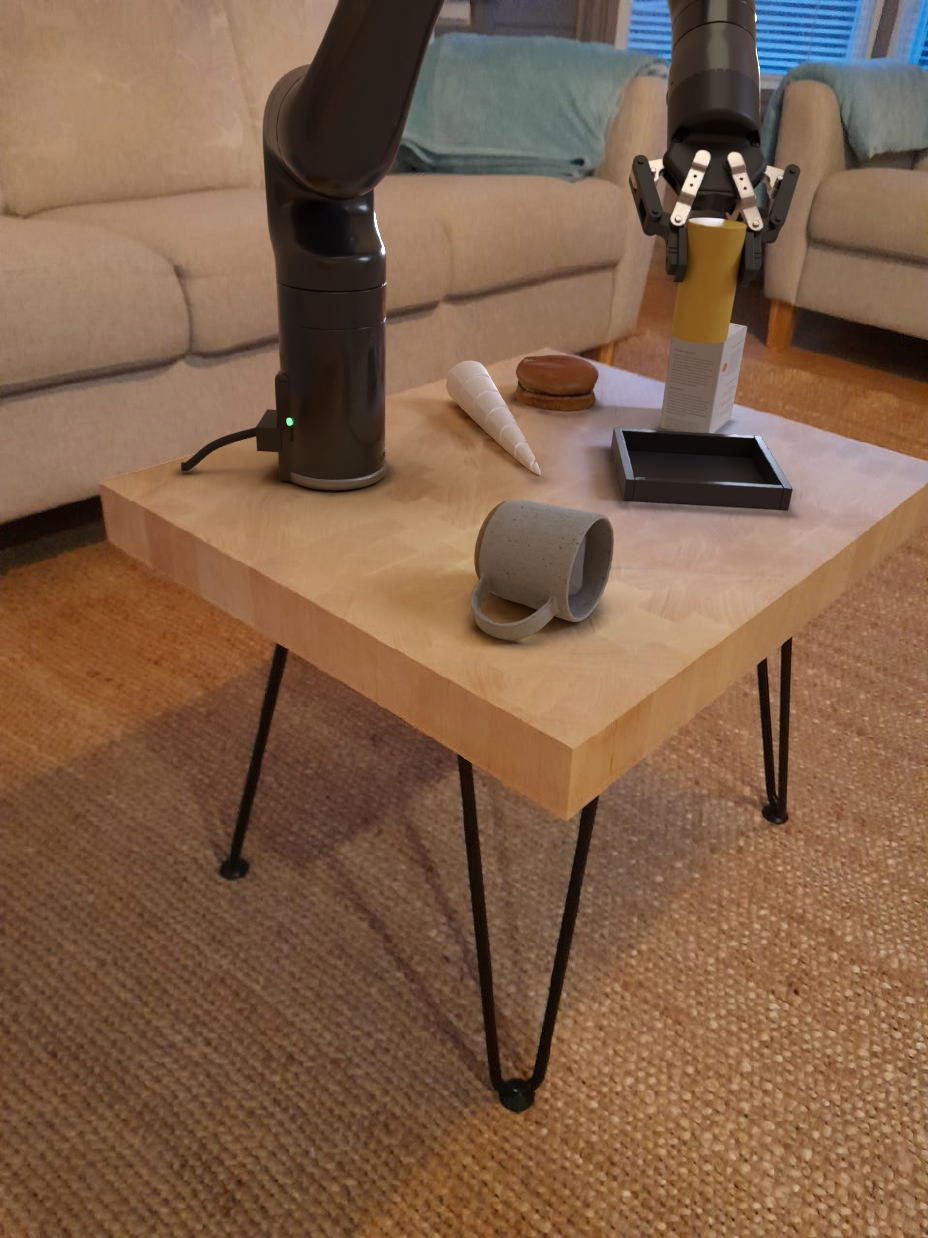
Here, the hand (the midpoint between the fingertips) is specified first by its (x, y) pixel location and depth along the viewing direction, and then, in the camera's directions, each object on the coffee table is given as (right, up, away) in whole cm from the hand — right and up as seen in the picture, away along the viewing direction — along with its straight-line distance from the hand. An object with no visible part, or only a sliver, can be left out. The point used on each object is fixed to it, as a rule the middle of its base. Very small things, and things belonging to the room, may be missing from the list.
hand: (713, 278), depth 82 cm
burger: (-10, -3, +35) cm, 37 cm away
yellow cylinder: (0, -4, +4) cm, 6 cm away
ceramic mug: (-15, -27, -7) cm, 31 cm away
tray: (+2, -14, +16) cm, 21 cm away
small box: (+5, -6, +30) cm, 31 cm away
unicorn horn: (-16, -8, +25) cm, 31 cm away
